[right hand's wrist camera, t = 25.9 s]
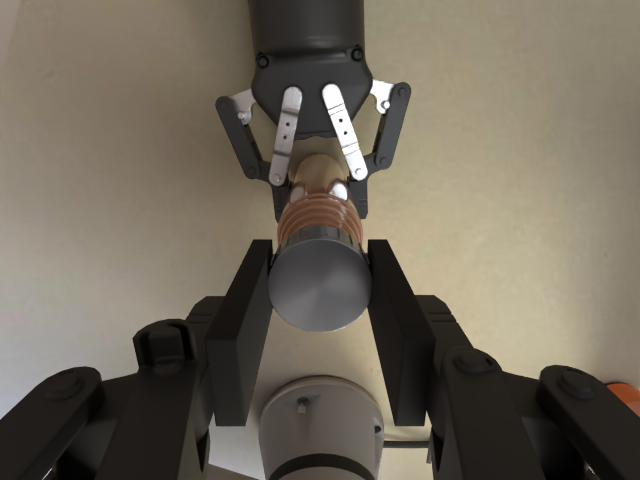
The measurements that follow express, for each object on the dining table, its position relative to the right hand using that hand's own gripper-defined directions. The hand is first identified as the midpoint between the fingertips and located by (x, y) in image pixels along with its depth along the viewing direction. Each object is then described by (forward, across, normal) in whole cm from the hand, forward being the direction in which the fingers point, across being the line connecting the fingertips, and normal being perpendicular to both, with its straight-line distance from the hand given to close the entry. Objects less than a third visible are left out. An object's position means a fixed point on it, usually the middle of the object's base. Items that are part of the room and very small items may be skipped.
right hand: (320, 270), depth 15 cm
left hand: (+14, 0, -3) cm, 14 cm away
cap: (-1, 0, 0) cm, 1 cm away
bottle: (+20, 0, 0) cm, 20 cm away
